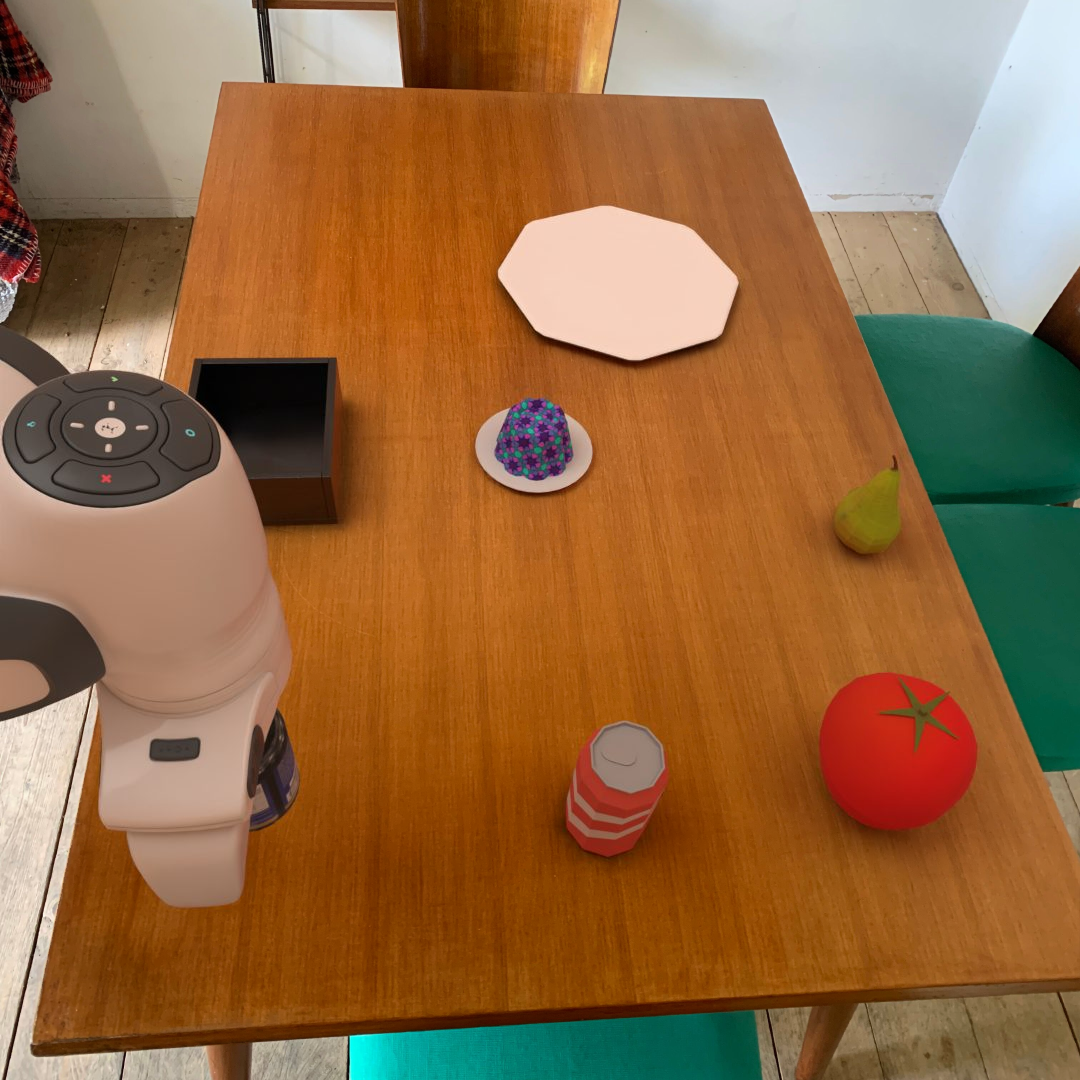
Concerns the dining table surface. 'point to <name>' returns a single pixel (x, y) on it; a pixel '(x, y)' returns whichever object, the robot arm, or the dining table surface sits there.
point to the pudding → (534, 447)
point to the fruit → (870, 513)
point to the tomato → (896, 751)
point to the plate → (618, 283)
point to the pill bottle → (275, 777)
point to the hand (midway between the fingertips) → (242, 763)
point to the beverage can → (615, 787)
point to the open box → (280, 430)
